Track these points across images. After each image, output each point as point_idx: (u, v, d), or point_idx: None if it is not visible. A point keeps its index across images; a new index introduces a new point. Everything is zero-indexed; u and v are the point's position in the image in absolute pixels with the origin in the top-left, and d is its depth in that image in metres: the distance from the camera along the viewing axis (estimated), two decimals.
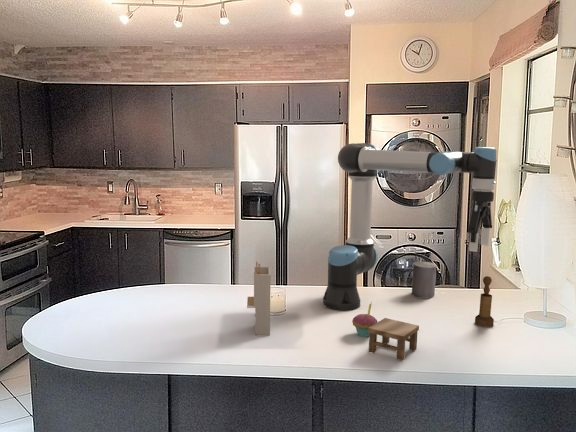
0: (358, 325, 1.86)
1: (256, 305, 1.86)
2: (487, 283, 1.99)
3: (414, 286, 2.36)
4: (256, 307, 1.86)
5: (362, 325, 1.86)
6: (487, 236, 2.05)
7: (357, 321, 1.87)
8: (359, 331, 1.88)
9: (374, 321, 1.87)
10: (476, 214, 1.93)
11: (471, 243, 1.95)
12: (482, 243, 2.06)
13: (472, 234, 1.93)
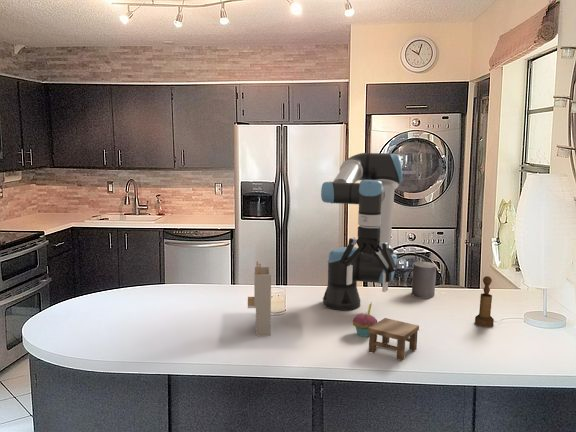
0: (358, 325, 1.86)
1: (256, 305, 1.86)
2: (487, 283, 1.99)
3: (414, 286, 2.36)
4: (256, 307, 1.86)
5: (362, 325, 1.86)
6: None
7: (357, 321, 1.87)
8: (359, 331, 1.88)
9: (374, 321, 1.87)
10: None
11: None
12: None
13: None
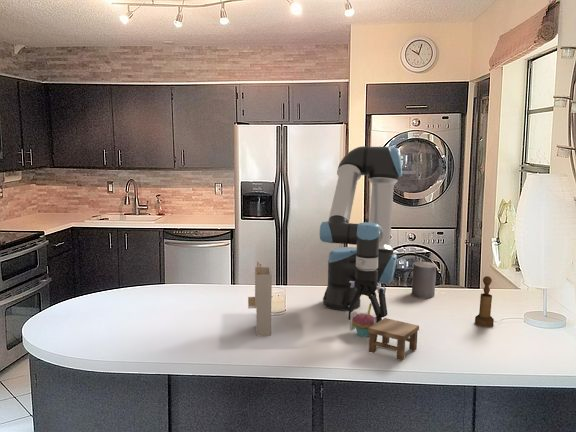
0: (358, 325, 1.86)
1: (257, 305, 1.86)
2: (487, 283, 1.99)
3: (414, 286, 2.36)
4: (257, 307, 1.86)
5: (362, 325, 1.86)
6: None
7: (357, 321, 1.87)
8: (359, 331, 1.88)
9: None
10: None
11: None
12: None
13: None
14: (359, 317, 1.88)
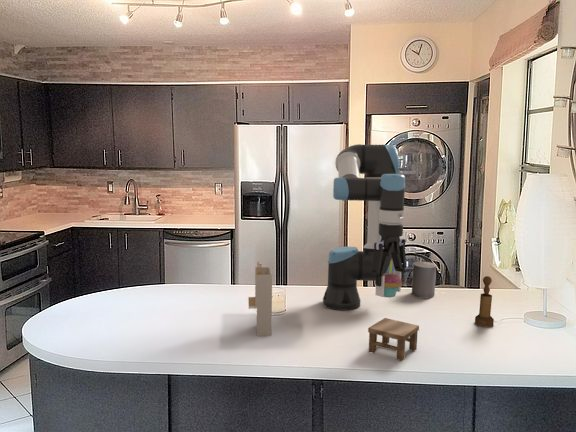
0: (399, 284, 1.73)
1: (258, 305, 1.86)
2: (487, 283, 1.99)
3: (414, 286, 2.36)
4: (258, 307, 1.86)
5: (401, 283, 1.74)
6: None
7: (396, 281, 1.72)
8: (394, 292, 1.74)
9: None
10: (378, 254, 1.69)
11: (377, 287, 1.73)
12: None
13: (377, 277, 1.71)
14: (392, 277, 1.73)
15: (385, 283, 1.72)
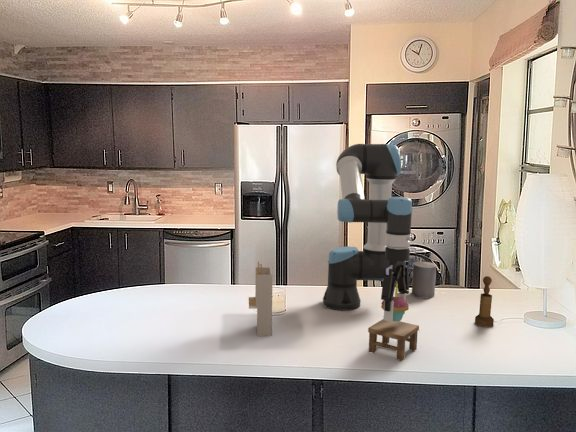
0: (406, 308, 1.72)
1: (258, 305, 1.86)
2: (487, 283, 1.99)
3: (414, 286, 2.36)
4: (258, 307, 1.86)
5: None
6: None
7: (404, 305, 1.71)
8: (401, 315, 1.73)
9: None
10: (388, 279, 1.67)
11: (386, 311, 1.71)
12: None
13: (386, 302, 1.69)
14: (400, 301, 1.72)
15: (394, 308, 1.70)
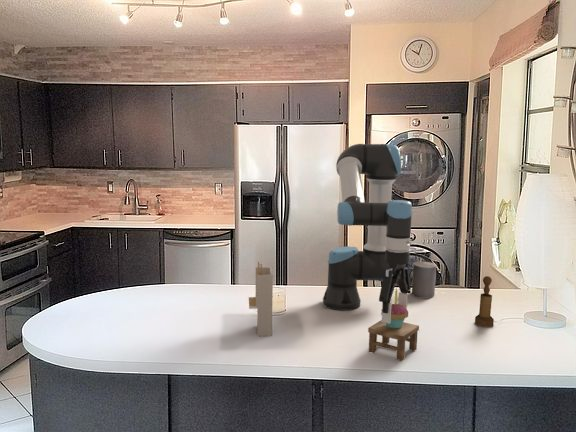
0: (406, 315, 1.73)
1: (258, 306, 1.86)
2: (487, 283, 1.99)
3: (414, 286, 2.36)
4: (258, 308, 1.86)
5: None
6: (404, 303, 1.78)
7: (404, 312, 1.72)
8: (401, 322, 1.74)
9: None
10: (387, 281, 1.67)
11: (384, 313, 1.70)
12: None
13: (384, 304, 1.68)
14: (400, 308, 1.73)
15: (394, 315, 1.71)
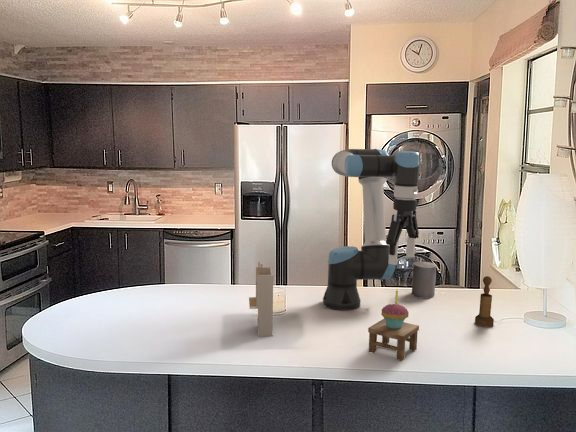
0: (406, 315, 1.73)
1: (259, 306, 1.86)
2: (487, 283, 1.99)
3: (414, 286, 2.36)
4: (259, 308, 1.86)
5: (408, 313, 1.74)
6: (412, 247, 1.90)
7: (404, 312, 1.72)
8: (401, 323, 1.74)
9: None
10: (395, 225, 1.78)
11: (390, 255, 1.81)
12: (408, 254, 1.92)
13: (391, 246, 1.79)
14: (400, 308, 1.73)
15: (394, 315, 1.71)
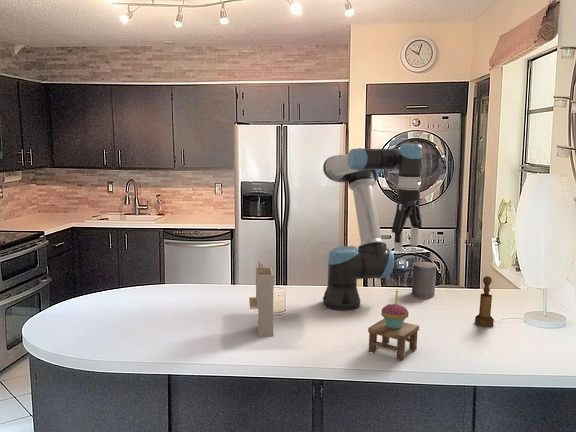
0: (406, 315, 1.73)
1: (259, 306, 1.85)
2: (487, 283, 1.99)
3: (414, 286, 2.36)
4: (259, 308, 1.86)
5: (408, 313, 1.74)
6: (416, 236, 1.99)
7: (404, 312, 1.72)
8: (401, 323, 1.74)
9: None
10: (400, 213, 1.86)
11: (396, 243, 1.89)
12: (411, 243, 2.00)
13: (396, 234, 1.87)
14: (400, 308, 1.73)
15: (394, 315, 1.71)
